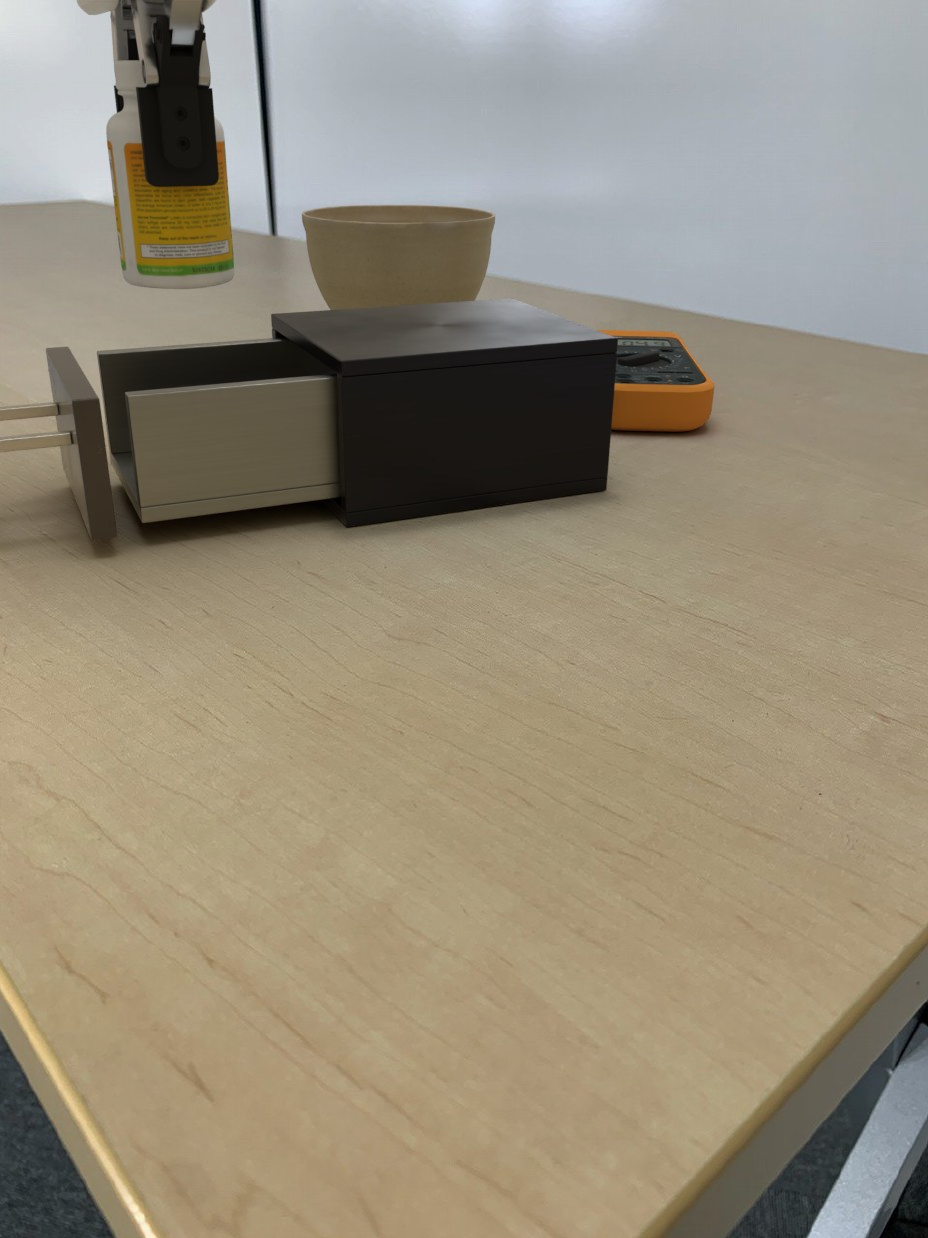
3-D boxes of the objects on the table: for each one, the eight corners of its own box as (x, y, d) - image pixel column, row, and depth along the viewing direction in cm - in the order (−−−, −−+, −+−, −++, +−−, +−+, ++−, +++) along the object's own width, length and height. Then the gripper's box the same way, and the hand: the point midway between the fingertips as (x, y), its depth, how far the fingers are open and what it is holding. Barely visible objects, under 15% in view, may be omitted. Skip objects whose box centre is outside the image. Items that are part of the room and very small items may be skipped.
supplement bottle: (257, 281, 55) (243, 62, 50) (165, 295, 51) (141, 59, 47) (192, 269, 58) (174, 61, 54) (101, 280, 54) (74, 59, 50)
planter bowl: (519, 335, 100) (524, 208, 96) (442, 372, 87) (443, 227, 82) (365, 318, 106) (362, 198, 102) (271, 350, 93) (263, 214, 88)
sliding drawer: (-40, 559, 50) (-70, 412, 47) (-49, 482, 59) (-74, 355, 56) (379, 502, 58) (376, 373, 55) (313, 442, 67) (308, 329, 64)
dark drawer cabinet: (346, 527, 57) (341, 361, 53) (279, 457, 67) (270, 313, 63) (606, 490, 63) (618, 337, 59) (508, 431, 73) (513, 297, 69)
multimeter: (585, 434, 73) (589, 382, 71) (568, 369, 89) (571, 326, 87) (715, 437, 72) (722, 385, 71) (675, 372, 89) (679, 328, 87)
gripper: (8, -263, 50) (65, 168, 58) (48, -393, 36) (116, 199, 44) (175, -242, 53) (208, 166, 61) (272, -355, 39) (298, 194, 47)
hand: (169, 175), depth 52 cm, fingers closed on supplement bottle, 5 cm apart
